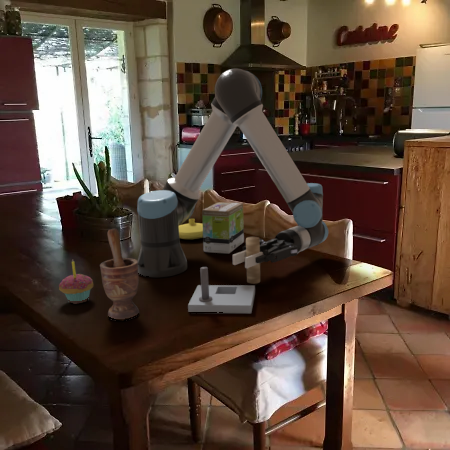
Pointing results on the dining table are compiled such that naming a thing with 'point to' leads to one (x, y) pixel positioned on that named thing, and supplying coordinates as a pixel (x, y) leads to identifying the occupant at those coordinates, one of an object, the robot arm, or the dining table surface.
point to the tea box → (223, 227)
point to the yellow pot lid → (191, 230)
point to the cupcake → (76, 286)
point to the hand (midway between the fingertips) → (239, 261)
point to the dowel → (251, 249)
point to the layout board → (221, 297)
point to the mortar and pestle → (120, 280)
